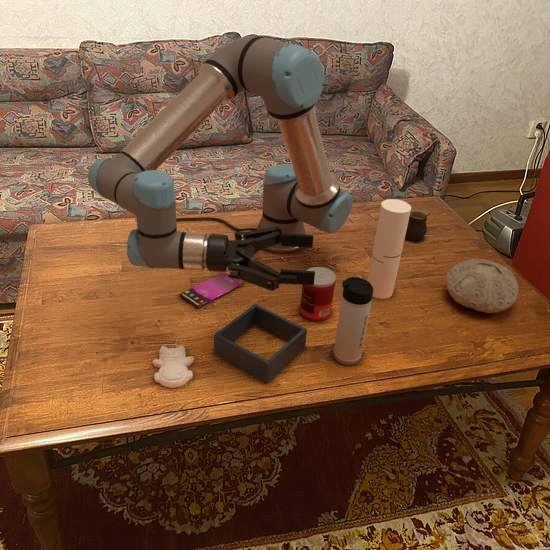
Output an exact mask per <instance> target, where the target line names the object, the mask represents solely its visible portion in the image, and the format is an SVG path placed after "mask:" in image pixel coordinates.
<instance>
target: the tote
mask: <svg viewBox="0 0 550 550" xmlns="http://www.w3.org/2000/svg"><path fill="white" fill-rule="evenodd" d="M255 326H256V327H258V328H261V329H262V330H264V331H266V332H268V333H270V334H272V335H273V336H275V337H278V338H279V339H281V340H283V341H286V342H287V343H285V344H284V345H283V346H282V347H281V348H280V349H278V351H276V352H275V353H274V354H273V355H272V356H270V358H268V359H265V358H263V357H261V356H260V355H258V354H256V353H254V352H253V351H250V350H248V348H245V347H243V346H241V345H239V344H238V343H236V342H235V341H236V340H237V339H239V338H240V337H242V336H243V335H244V334H245V333H247V331H249V330H250V329H251V328H253V327H255ZM307 333H308V329H307V328H306V327H304V326H302V325H299V324H297V323H295V322H294V321H291V320H289V319H287V318H285V317H283V316H281V315H279V314H277V313H275V312H273V311H271V310H269V309H267V308H265V307H263V306H261V305H259V304H257V303H254V304H252V305H251V306H250V307H249V308H247V309H246V310H244V311H243V312H242V313H241V314H239V315H238V316H236V317H235V318H234V319H233V320H231V321H230V322H229V323H227V324H226V325H225V326H223V327H222V328H221V329H219V330H218V331H217V332H215V333H214V334H213V354H214V355H216V356H217V357H219V358H220V359H223V360H224V361H226V362H228V363H230V364H231V365H233V366H235V367H237V369H240V370H242V371H244V372H245V373H247V374H249V375H250V376H252V377H254V378H256V379H258V380H260V381H261V382H263V383H265V384H268V383H269V382H270V381H271V380H272V379H273V378H274V377H276V375H278V374H279V373H280V372H281V371H282V370H283V369H284V368H285V367H286V366H288V364H289V363H290V362H291V361H293V360H294V359H295V358H296V357H297V356H298V355H299V354H300V353H301V352H302V351H303V350H305V348H306V342H307Z"/></svg>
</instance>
